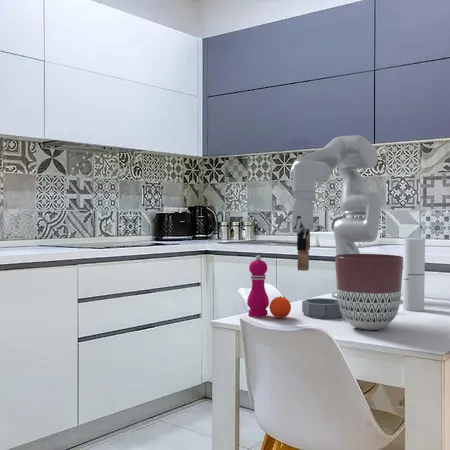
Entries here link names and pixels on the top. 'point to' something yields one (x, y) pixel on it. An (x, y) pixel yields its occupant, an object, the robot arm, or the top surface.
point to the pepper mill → (258, 289)
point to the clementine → (280, 307)
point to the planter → (368, 288)
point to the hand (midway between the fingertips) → (303, 249)
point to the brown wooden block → (304, 257)
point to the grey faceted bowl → (321, 308)
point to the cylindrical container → (413, 274)
